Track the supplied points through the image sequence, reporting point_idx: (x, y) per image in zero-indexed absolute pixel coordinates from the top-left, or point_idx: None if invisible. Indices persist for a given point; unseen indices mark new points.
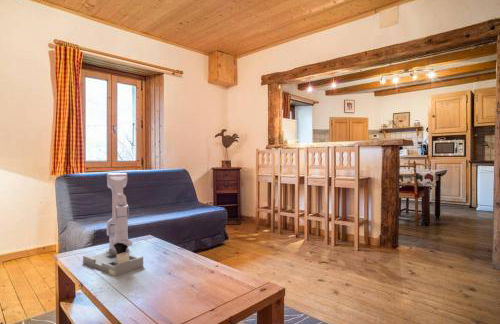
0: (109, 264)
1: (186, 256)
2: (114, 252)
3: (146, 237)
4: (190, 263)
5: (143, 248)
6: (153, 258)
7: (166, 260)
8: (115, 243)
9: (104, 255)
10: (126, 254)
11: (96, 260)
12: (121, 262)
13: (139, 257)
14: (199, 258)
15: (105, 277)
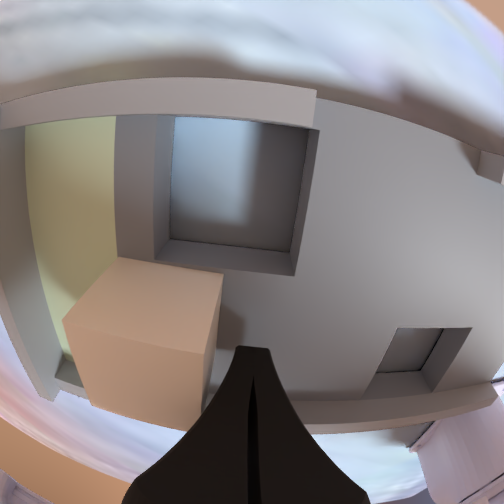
0: (122, 109)
1: (87, 457)
2: (441, 401)
3: (411, 493)
4: (13, 406)
5: (349, 477)
6: (167, 441)
7: (90, 428)
8: (480, 447)
9: (491, 336)
10: (92, 388)
11: (497, 221)
12: (106, 271)
13: (41, 383)
14: (44, 441)
15: (98, 32)
